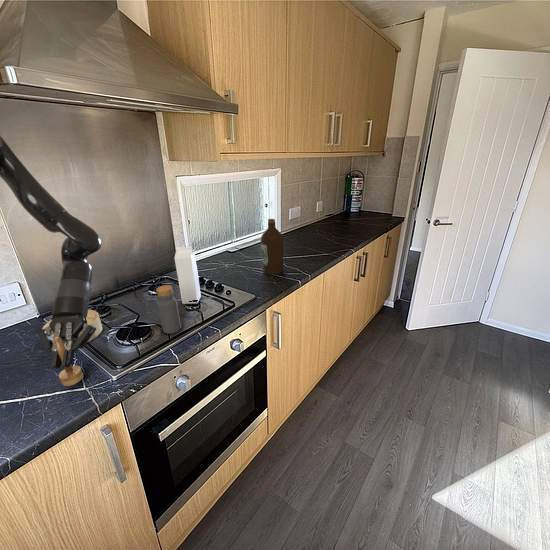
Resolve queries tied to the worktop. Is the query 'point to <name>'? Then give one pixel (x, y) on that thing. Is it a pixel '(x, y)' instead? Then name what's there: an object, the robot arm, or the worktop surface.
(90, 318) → the bowl
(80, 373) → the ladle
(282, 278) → the worktop surface
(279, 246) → the olive oil
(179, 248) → the milk
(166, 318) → the bottle
